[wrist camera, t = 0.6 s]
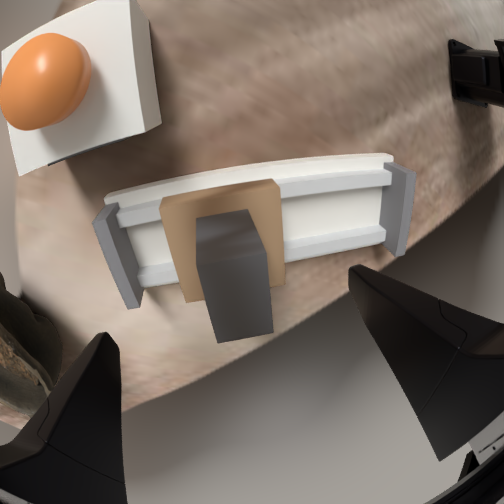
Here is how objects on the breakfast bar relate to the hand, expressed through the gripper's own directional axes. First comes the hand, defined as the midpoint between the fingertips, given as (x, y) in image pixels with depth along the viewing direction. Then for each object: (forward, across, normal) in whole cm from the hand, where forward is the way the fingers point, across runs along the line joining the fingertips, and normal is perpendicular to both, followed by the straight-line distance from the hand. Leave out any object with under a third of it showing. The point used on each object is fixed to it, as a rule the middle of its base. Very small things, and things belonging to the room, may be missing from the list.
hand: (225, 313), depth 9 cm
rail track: (+12, -3, +3) cm, 13 cm away
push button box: (+12, +5, -10) cm, 17 cm away
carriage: (+10, 0, +2) cm, 10 cm away
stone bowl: (+13, +29, +5) cm, 32 cm away
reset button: (+5, +5, -10) cm, 13 cm away
